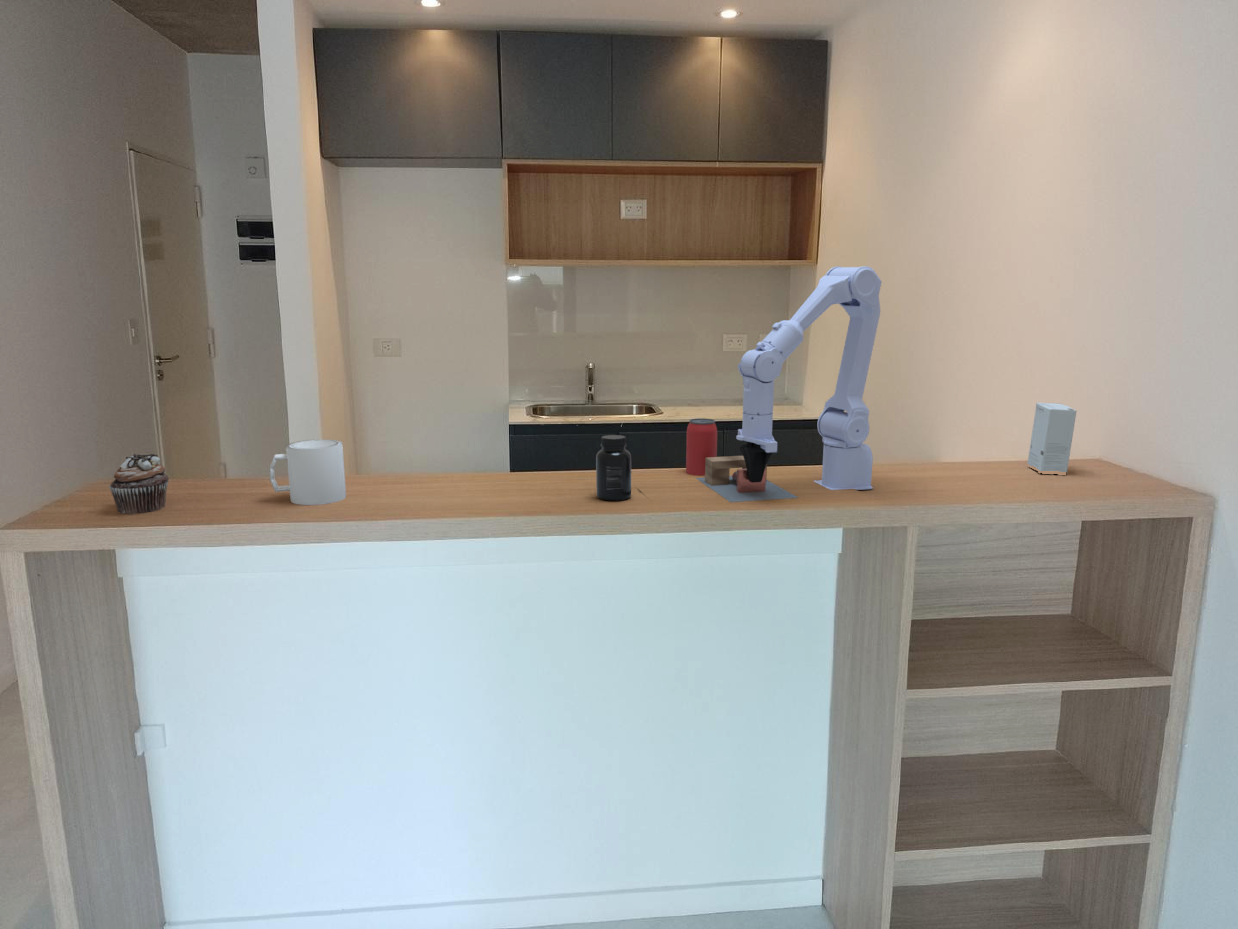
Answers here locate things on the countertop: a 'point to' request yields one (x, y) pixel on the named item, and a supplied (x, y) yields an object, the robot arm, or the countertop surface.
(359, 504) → the countertop surface
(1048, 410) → the skincare box
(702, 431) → the beer can
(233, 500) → the countertop surface
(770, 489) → the mat
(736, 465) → the block
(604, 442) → the supplement bottle
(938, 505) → the countertop surface
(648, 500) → the countertop surface
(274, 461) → the mug
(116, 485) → the cupcake
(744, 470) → the pin
